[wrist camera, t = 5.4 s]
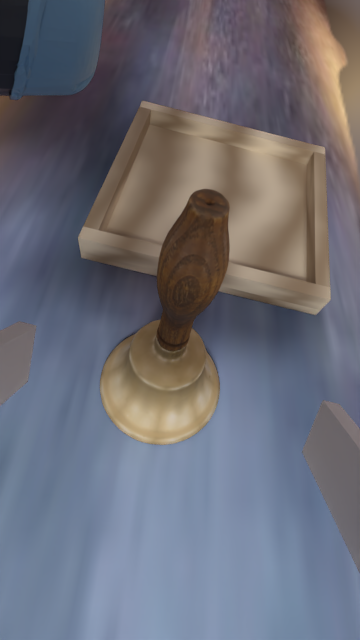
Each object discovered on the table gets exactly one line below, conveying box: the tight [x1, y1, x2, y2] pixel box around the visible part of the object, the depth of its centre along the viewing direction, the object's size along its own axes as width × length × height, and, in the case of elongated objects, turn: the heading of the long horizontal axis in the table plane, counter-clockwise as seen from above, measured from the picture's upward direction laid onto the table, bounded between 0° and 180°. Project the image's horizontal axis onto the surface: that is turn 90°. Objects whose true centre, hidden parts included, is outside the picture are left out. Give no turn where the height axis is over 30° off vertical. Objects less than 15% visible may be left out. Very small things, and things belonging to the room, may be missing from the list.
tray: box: [78, 101, 331, 315], centre depth 32 cm, size 20×20×2 cm
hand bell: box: [100, 189, 230, 445], centre depth 17 cm, size 8×8×16 cm
